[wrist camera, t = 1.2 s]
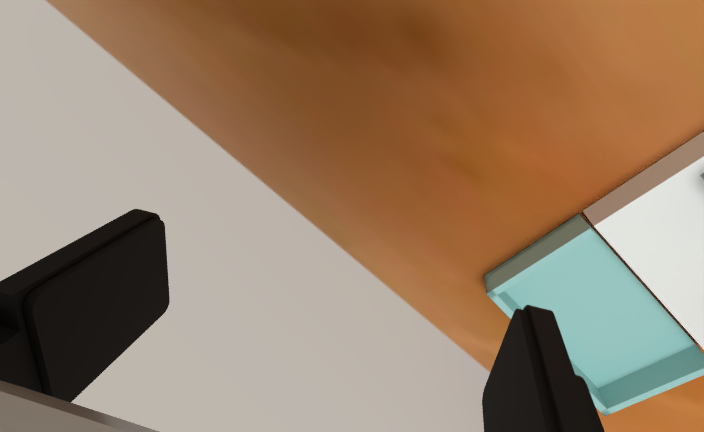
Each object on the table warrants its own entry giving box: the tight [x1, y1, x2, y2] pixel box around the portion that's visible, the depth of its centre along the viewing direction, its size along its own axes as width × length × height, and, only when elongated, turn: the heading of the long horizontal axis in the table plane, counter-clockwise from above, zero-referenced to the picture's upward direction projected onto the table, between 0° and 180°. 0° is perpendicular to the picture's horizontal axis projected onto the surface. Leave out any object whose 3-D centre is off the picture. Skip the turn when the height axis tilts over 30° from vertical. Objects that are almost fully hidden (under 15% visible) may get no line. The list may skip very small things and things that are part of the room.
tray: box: [484, 214, 704, 416], centre depth 35 cm, size 9×16×3 cm, turn 46°
